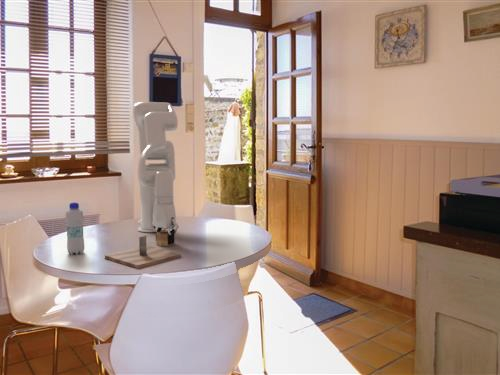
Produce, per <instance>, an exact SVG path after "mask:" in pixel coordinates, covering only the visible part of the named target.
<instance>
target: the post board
mask: <svg viewBox="0 0 500 375" xmlns="http://www.w3.org/2000/svg"><path fill="white" fill-rule="evenodd" d="M138 242H139V246H138V247H136V248H135V247H134V248H131V249H126V250H122V251H117V252H112V253H108V254H106V255H104V259H105V260H108V261H113V262H116V263H118V264H120V265H121V264H122V265H125V266H128V267H131V268H135V269H137V270H138V269H141V268H145V267H148V266H152V265H156V264H160V263H163V262H166V261H170V260H174V259H178V258H181V257H182V253H179V252H175V251H172V250H168V249H163V248H160V247H156V246H152V245H147V235H139V236H138Z"/></svg>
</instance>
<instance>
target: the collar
mask: <svg viewBox="0 0 500 375" xmlns="http://www.w3.org/2000/svg"><path fill="white" fill-rule="evenodd" d="M168 235H169V234H168V230H163V231H159V232H157V241H156V246H158V247H170V246H173V245H174V244H175V243H173V244H168Z"/></svg>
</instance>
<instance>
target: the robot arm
mask: <svg viewBox="0 0 500 375" xmlns="http://www.w3.org/2000/svg"><path fill="white" fill-rule="evenodd" d="M132 109H133V111H132V112H133V119H134V122H135V124H136V126H137V130H138V136H139V138H138V140H139V141H138V142H139V143H138V144H139V159H138V166H137V167H138V169H137V177H138V183H139V195H140V196H139V198H140V200H139V201H140V220H138V221H137V224H138V225H140V226H138V228H137V230H138V232H141V233H155V241H156V242H157V232H159V231H165V230H166V231H168V234H169V235H168V244H173V243H174V244H175V235H176V233H177V231H178V229H179V225H178V223H177V218H176V216H177V215H176V209H175V204H174V199H175V198H174V181H175V179H176V158H175V156H176V155H175V154H176V153H175V148H174V144H173V142H172V141H170V140H167V137H166V132H167V131H169V132H172V131H173V132H175V131H176V130H177V128H178V126H179V125H178V121H179V120H178V115H177V114H176V111H175V109H174V107H173V105H172V104H171V103H170V102H166V101H165V102H164V101H162V102H160V101H159V102H158V101H141V102H137V103H135V104H134V106H133V108H132ZM146 161H153V162H154V161H164V163H163V162H162V163H158V162H155V163H153V162H151V163H146ZM174 244H173V245H174Z"/></svg>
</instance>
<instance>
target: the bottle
mask: <svg viewBox="0 0 500 375" xmlns="http://www.w3.org/2000/svg"><path fill="white" fill-rule="evenodd" d="M64 218H65V224H66V237H67V244H66V249H67V250H66V251H67V254H69V255H74V253H75V255H77V256H78V255H79V254H80V255H81V254H83V253H84V251H85V240H84V239H85V238H84V220H85V219H84V212H83V210H82V209H80V204H79V203H78V202H71V203H69V209H68V210H66V212H65V217H64Z"/></svg>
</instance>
